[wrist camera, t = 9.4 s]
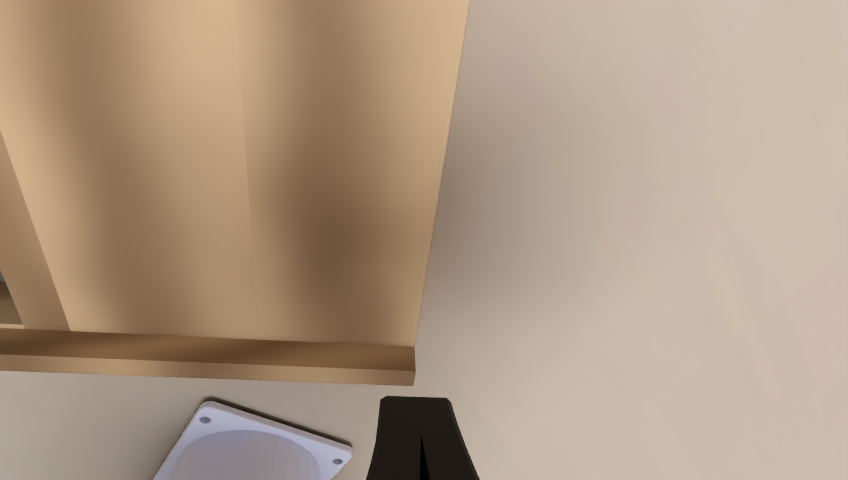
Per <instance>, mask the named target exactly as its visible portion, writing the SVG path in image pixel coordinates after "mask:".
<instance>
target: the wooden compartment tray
mask: <svg viewBox="0 0 848 480" xmlns="http://www.w3.org/2000/svg"><path fill="white" fill-rule="evenodd" d="M469 2H470V0H0V370H1V371H27V372H54V373H81V374H108V375H135V376H161V377H188V378H215V379H242V380H269V381H295V382H322V383H349V384H376V385H403V386H413V384H414V378H415V372H416V368H415V350H414V346H415V340H416V333H417V327H418V321H419V315H420V308H421V302H422V296H423V290H424V283H425V277H426V271H427V265H428V258H429V252H430V246H431V240H432V233H433V227H434V221H435V215H436V208H437V202H438V196H439V190H440V183H441V177H442V171H443V165H444V158H445V152H446V146H447V140H448V133H449V127H450V121H451V115H452V108H453V102H454V96H455V90H456V83H457V77H458V71H459V65H460V58H461V52H462V46H463V40H464V33H465V27H466V21H467V15H468V8H469Z"/></svg>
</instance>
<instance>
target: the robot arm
mask: <svg viewBox="0 0 848 480" xmlns="http://www.w3.org/2000/svg"><path fill="white" fill-rule="evenodd" d="M351 457H352V448H351V447H350V446H348V445H345V444H342V443H339V442H336V441H333V440H330V439H327V438H324V437H321V436H318V435H315V434H312V433H309V432H306V431H302V430H299V429H296V428H293V427H290V426H287V425H284V424H281V423H278V422H275V421H272V420H269V419H266V418H263V417H260V416H257V415H254V414H251V413H248V412H245V411H242V410H238V409H235V408H232V407H229V406H226V405H223V404H220V403H217V402H213V401H207V402H204V403H202V404H201V405H200V407H199V408H198V410H197V411H196V413H195V414H194V416H193V418H192V419H191V421H190V422H189V424H188V425H187V427H186V428H185V430H184V431H183V433H182V435H181V436H180V438H179V439H178V441H177V442H176V444H175V445H174V447H173V448H172V450H171V452H170V453H169V455H168V456H167V458H166V459H165V461H164V462H163V464H162V465H161V467H160V469H159V470H158V472H157V473H156V475H155V476H154V478H153V479H152V480H331V479H332V478H333V477H334V476H335V475H336V474H337V473H338V472H339V470H340V469H341V468H342V467H343V466H344V465H345V464H346V463H347V462H348V461H349V460H350V459H351ZM366 480H480V479H479V477H478V475H477V472H476V470H475V468H474V465H473V463H472V460H471V458H470V455H469V453H468V451H467V448H466V446H465V443H464V440H463V438H462V435H461V432H460V429H459V427H458V424H457V421H456V418H455V415H454V411H453V408H452V405H451V402H450V401H449V400H448V399H447V398H431V397H401V396H386V397H384V398H382V399H381V400H380V409H379V418H378V427H377V435H376V443H375V447H374V451H373V456H372V460H371V464H370V468H369V471H368V475H367V478H366Z"/></svg>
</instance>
